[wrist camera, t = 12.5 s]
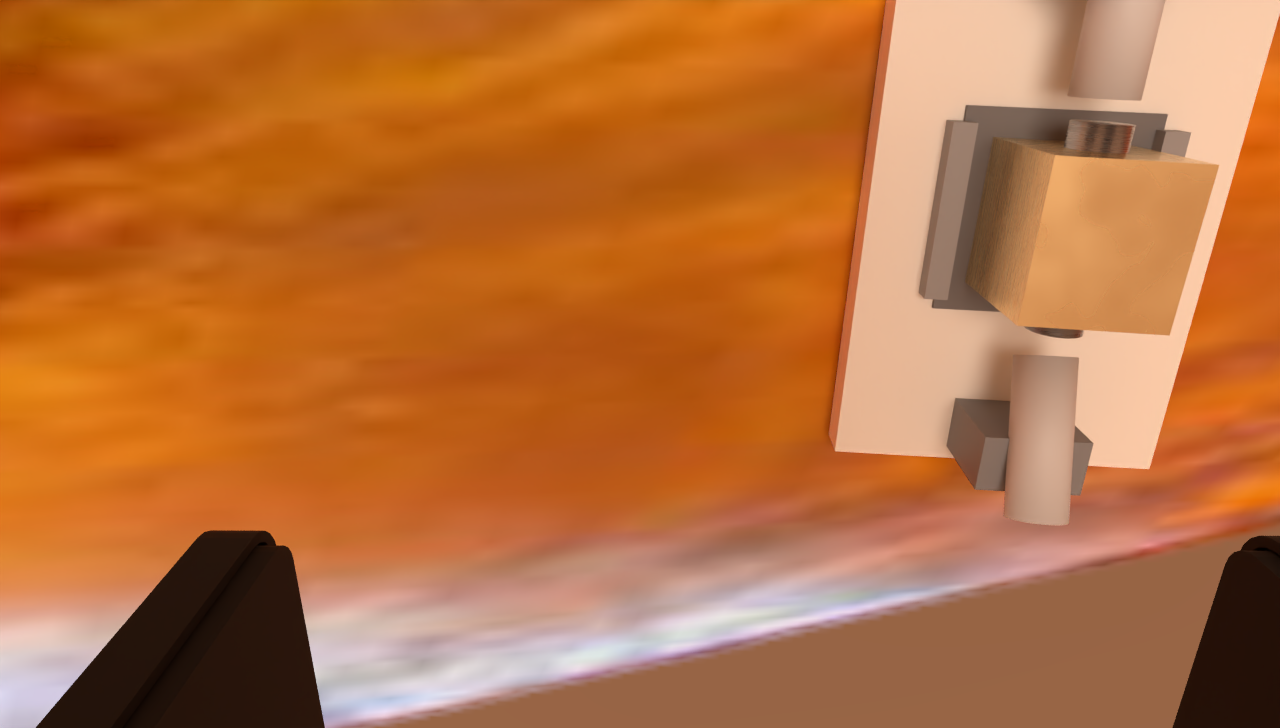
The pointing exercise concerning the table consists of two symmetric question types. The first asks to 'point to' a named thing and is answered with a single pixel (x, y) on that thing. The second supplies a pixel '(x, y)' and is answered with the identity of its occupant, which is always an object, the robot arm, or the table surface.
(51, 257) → the table surface
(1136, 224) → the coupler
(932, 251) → the shaft frame
